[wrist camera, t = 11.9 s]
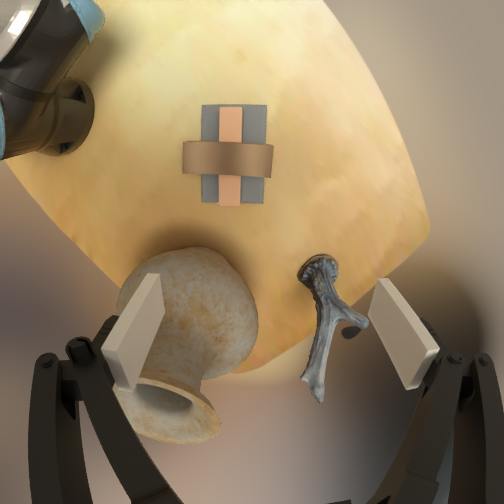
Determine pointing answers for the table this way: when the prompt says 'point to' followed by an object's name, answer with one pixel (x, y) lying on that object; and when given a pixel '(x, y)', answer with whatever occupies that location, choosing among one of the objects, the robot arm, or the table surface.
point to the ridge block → (233, 130)
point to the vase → (188, 343)
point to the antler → (324, 317)
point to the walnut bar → (227, 158)
